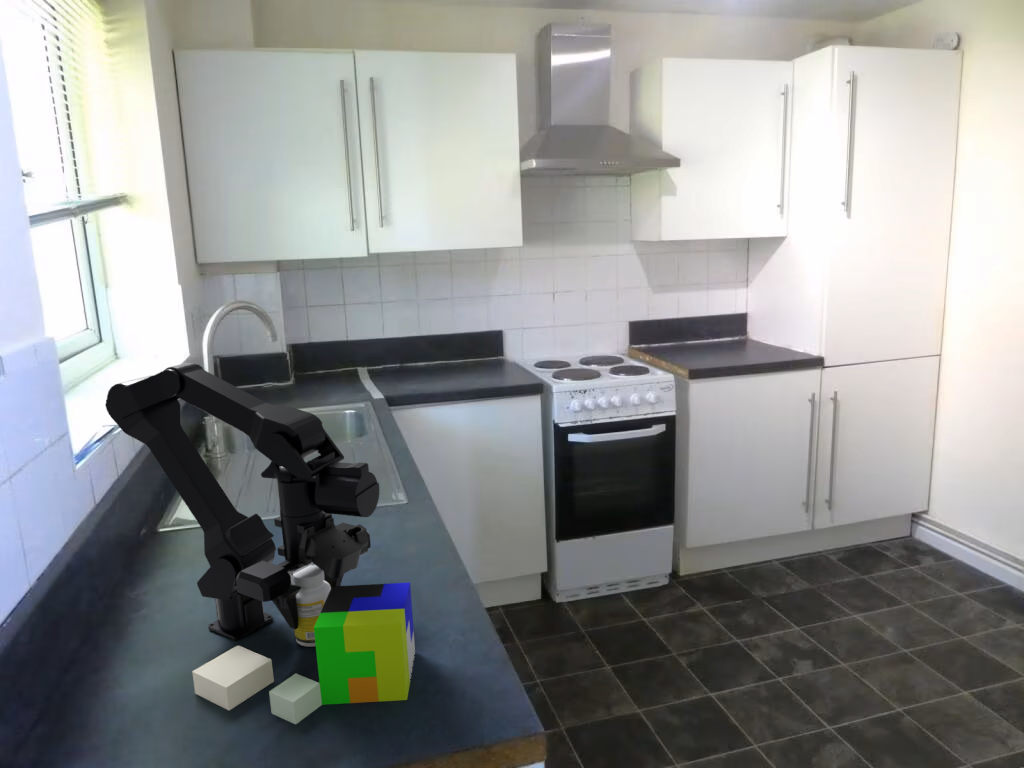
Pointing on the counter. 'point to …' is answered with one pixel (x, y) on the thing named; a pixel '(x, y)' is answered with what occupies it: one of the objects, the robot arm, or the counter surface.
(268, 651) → the counter surface
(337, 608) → the puzzle toy
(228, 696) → the base brick
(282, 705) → the brick
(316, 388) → the counter surface
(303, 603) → the supplement bottle
